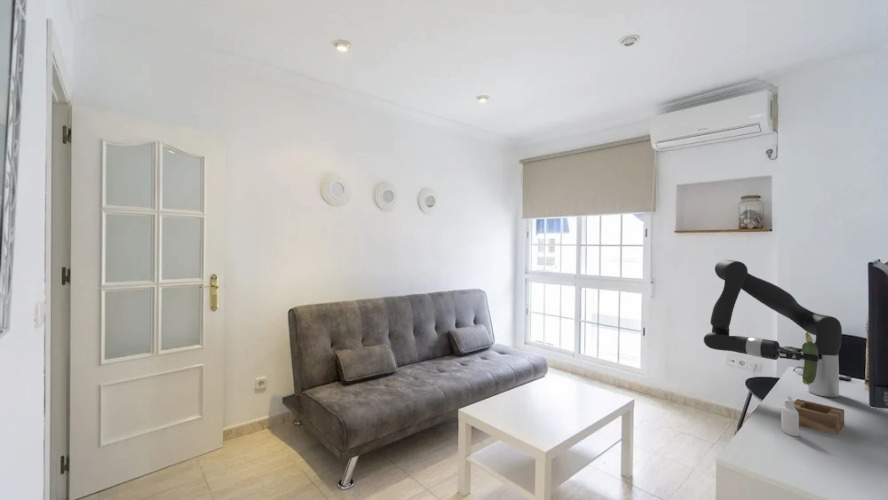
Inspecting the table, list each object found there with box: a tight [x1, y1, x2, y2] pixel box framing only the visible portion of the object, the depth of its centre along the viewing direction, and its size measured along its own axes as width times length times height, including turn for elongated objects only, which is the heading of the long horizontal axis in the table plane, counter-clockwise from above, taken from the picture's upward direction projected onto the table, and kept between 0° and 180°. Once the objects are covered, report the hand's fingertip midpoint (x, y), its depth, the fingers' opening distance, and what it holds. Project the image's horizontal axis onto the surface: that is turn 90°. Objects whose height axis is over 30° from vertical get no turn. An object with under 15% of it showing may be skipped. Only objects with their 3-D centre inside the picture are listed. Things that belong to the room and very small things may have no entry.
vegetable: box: [801, 331, 818, 386], centre depth 144 cm, size 4×4×20 cm
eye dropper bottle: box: [780, 395, 800, 437], centre depth 126 cm, size 4×6×12 cm
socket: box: [793, 398, 845, 436], centre depth 133 cm, size 12×12×6 cm
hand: (819, 357), depth 141 cm, fingers closed on vegetable, 4 cm apart
